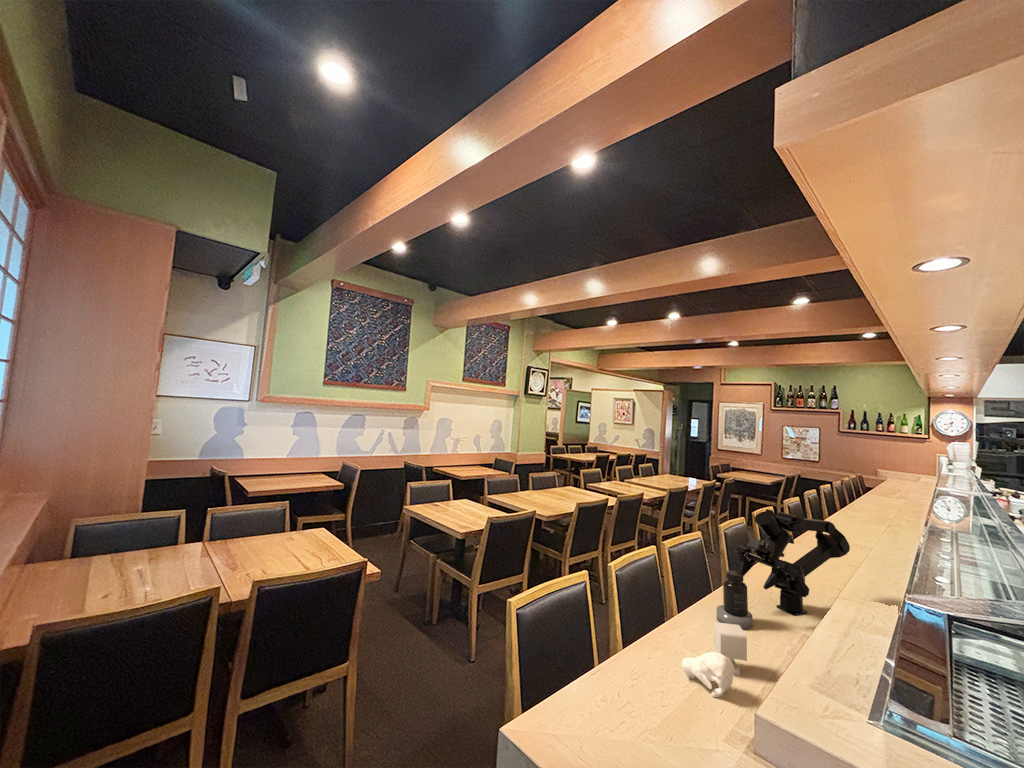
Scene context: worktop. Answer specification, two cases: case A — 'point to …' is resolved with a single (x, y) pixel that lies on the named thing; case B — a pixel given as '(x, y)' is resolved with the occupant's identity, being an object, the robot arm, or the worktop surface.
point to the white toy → (710, 670)
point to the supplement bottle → (735, 594)
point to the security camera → (730, 643)
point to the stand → (734, 618)
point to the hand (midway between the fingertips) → (751, 582)
